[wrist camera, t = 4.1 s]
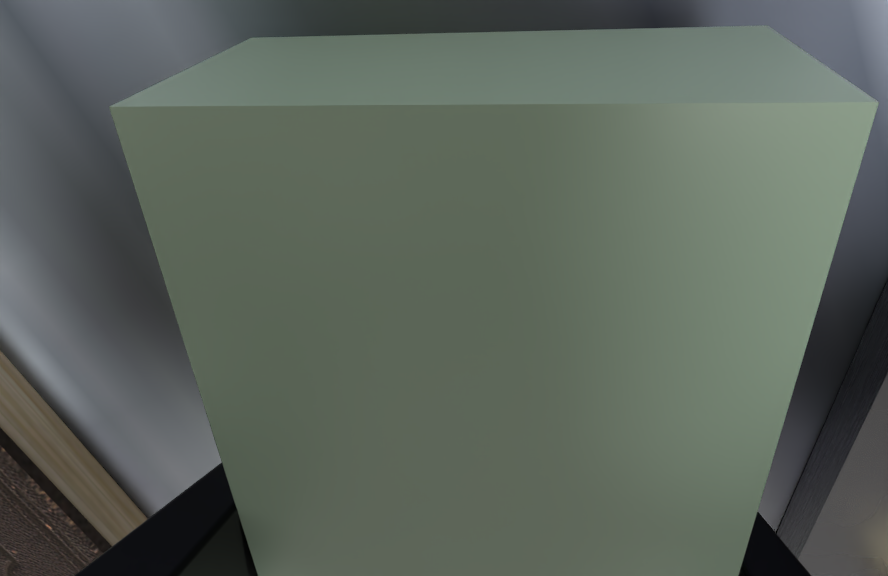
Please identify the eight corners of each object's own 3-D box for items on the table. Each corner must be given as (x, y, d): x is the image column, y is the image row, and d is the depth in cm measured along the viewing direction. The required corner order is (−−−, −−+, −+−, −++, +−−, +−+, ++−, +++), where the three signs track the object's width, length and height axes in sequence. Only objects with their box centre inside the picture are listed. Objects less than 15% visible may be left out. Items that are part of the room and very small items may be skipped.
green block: (767, 25, 7) (879, 102, 5) (645, 647, 13) (663, 825, 11) (251, 37, 8) (109, 107, 6) (362, 612, 14) (319, 768, 12)
